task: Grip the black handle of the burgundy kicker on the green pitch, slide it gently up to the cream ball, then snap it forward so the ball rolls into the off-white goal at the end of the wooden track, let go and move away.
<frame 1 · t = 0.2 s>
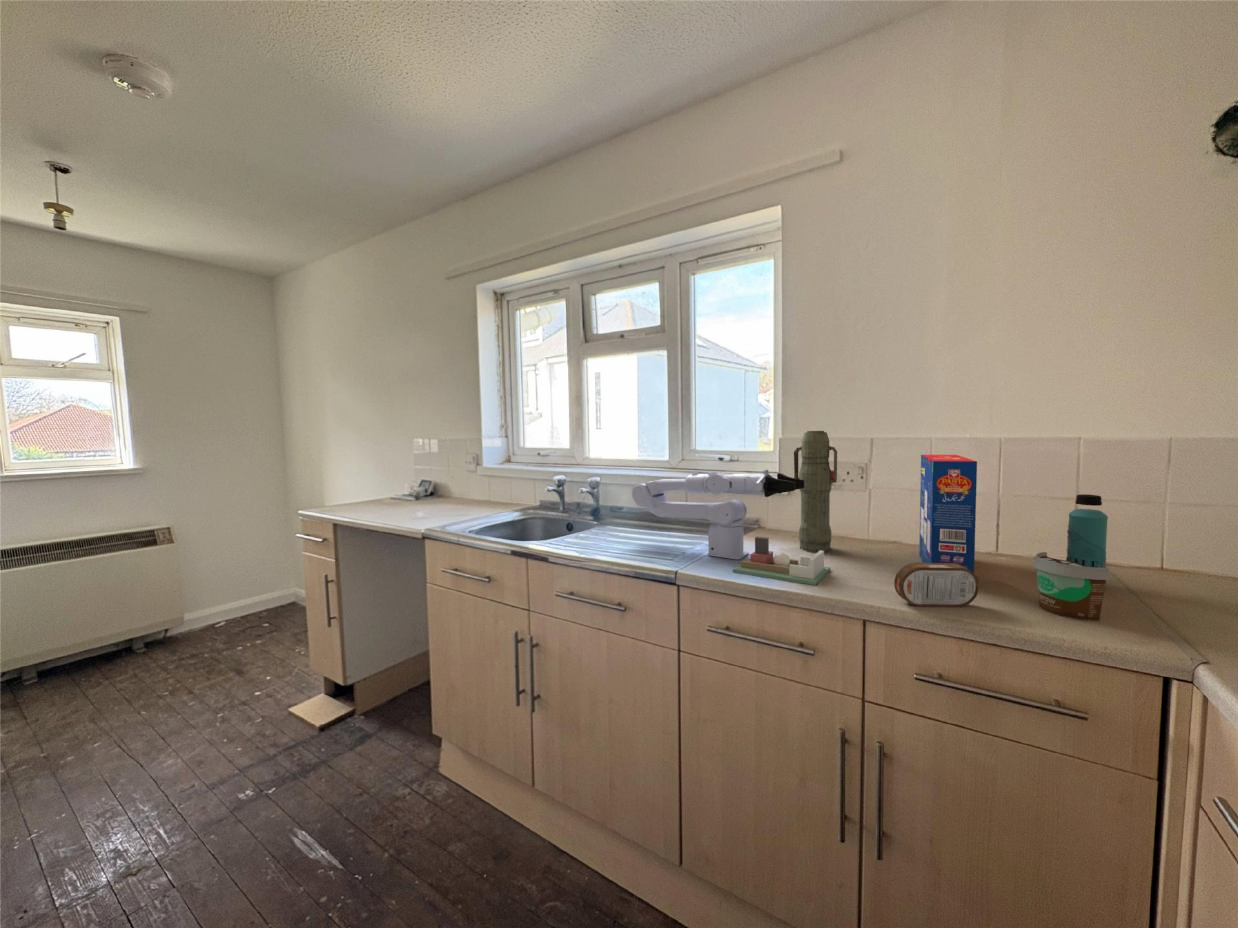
hand: (799, 485, 125), 21 cm above the countertop, tool horizontal, fingers open, 7 cm apart
kicker: (761, 551, 124), point 5 cm above the countertop, slide at 0.0 cm
goal: (806, 574, 118), resting on pitch
beverage bottle: (1084, 584, 107), on the countertop
food container: (1058, 612, 91), on the countertop
ball: (781, 560, 121), point 3 cm above the countertop, touching pitch
thermos: (814, 549, 143), on the countertop
tin: (936, 606, 96), on the countertop
pitch: (781, 571, 121), on the countertop
pasta box: (943, 569, 120), on the countertop
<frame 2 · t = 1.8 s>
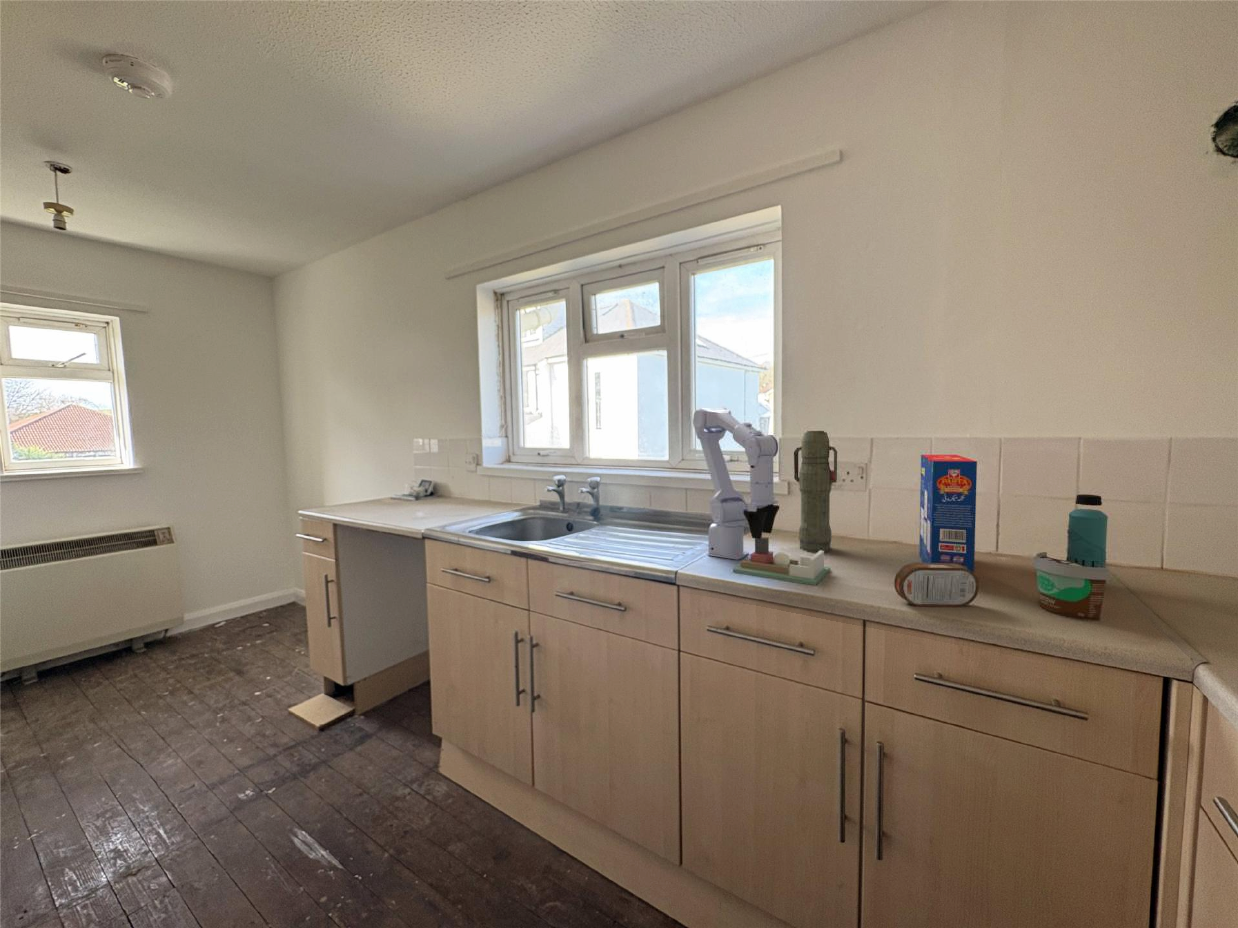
hand: (761, 535, 124), 9 cm above the countertop, tool pointing down, fingers open, 7 cm apart
nothing on the countertop moved.
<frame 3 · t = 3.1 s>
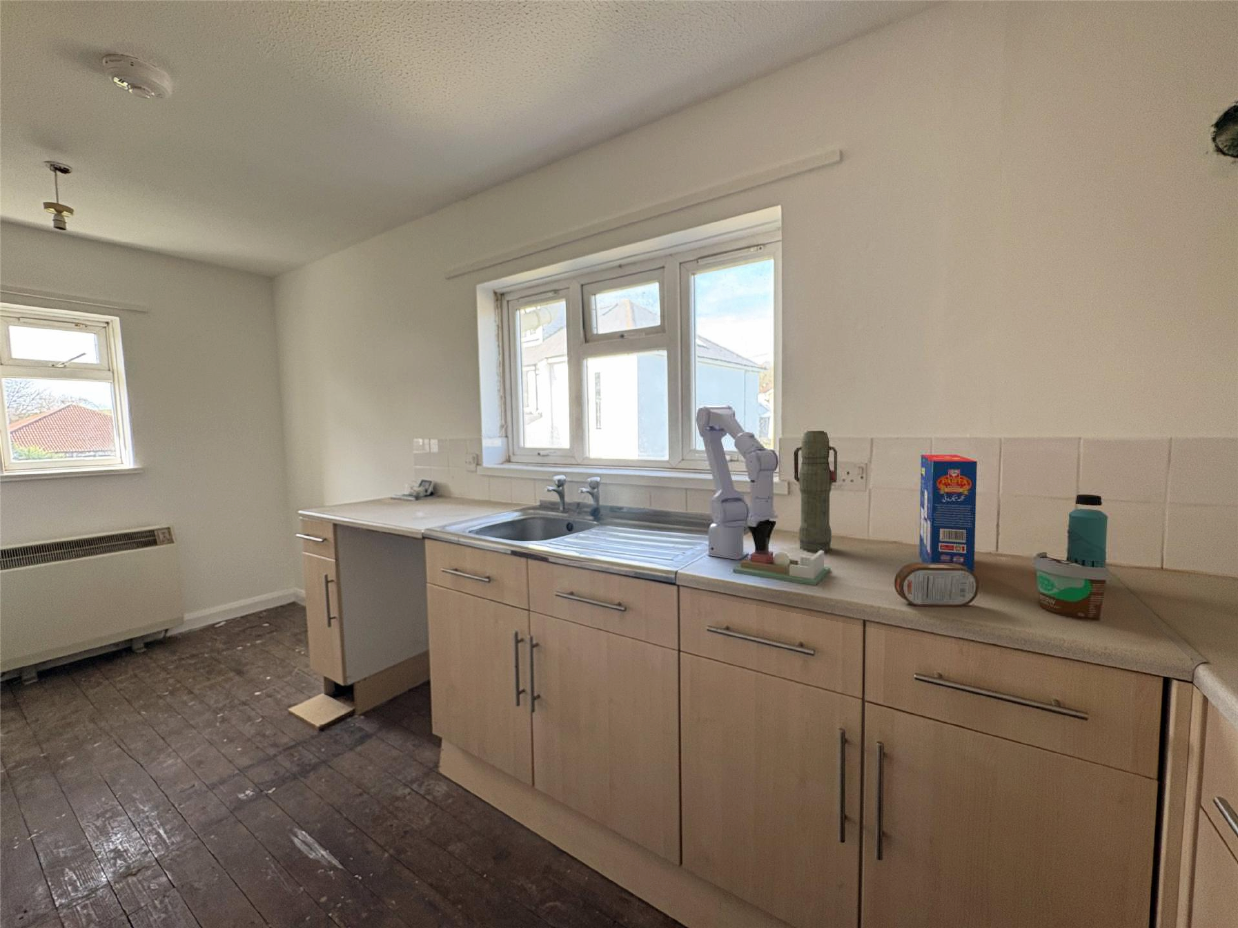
hand: (761, 549, 124), 5 cm above the countertop, tool pointing down, fingers closed on kicker, 2 cm apart
kicker: (761, 551, 124), point 4 cm above the countertop, slide at 0.0 cm, touching gripper
everything else where it was.
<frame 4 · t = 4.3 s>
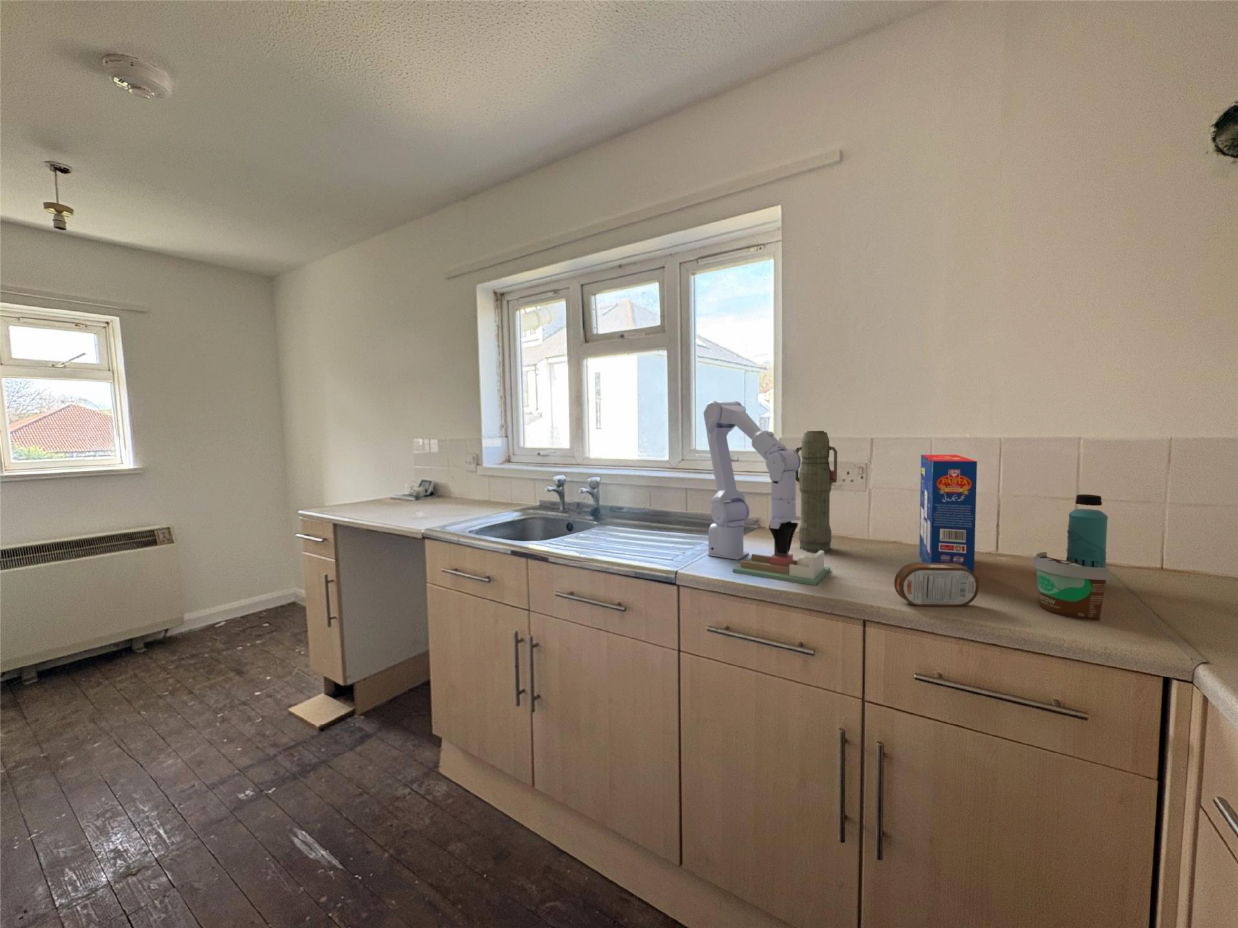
hand: (783, 552, 121), 5 cm above the countertop, tool pointing down, fingers closed on kicker, 2 cm apart
kicker: (781, 553, 121), point 4 cm above the countertop, slide at 5.0 cm, touching gripper
ball: (805, 563, 118), point 3 cm above the countertop, tilted 168°, touching pitch
everything else where it was.
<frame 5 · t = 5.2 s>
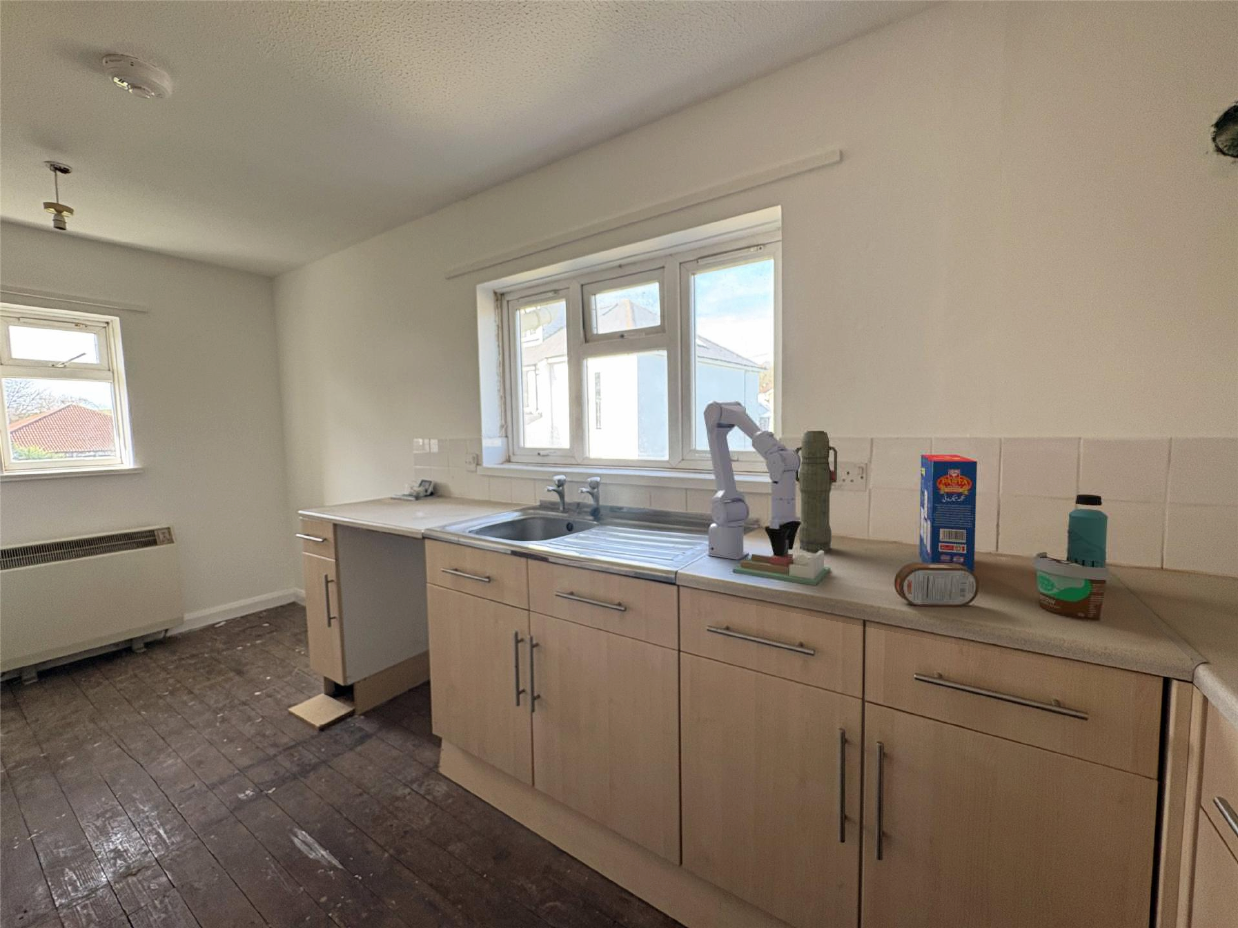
hand: (783, 552, 121), 5 cm above the countertop, tool pointing down, fingers open, 7 cm apart
kicker: (781, 553, 121), point 4 cm above the countertop, slide at 5.0 cm
ball: (801, 563, 118), point 3 cm above the countertop, tilted 137°, touching pitch
everything else where it was.
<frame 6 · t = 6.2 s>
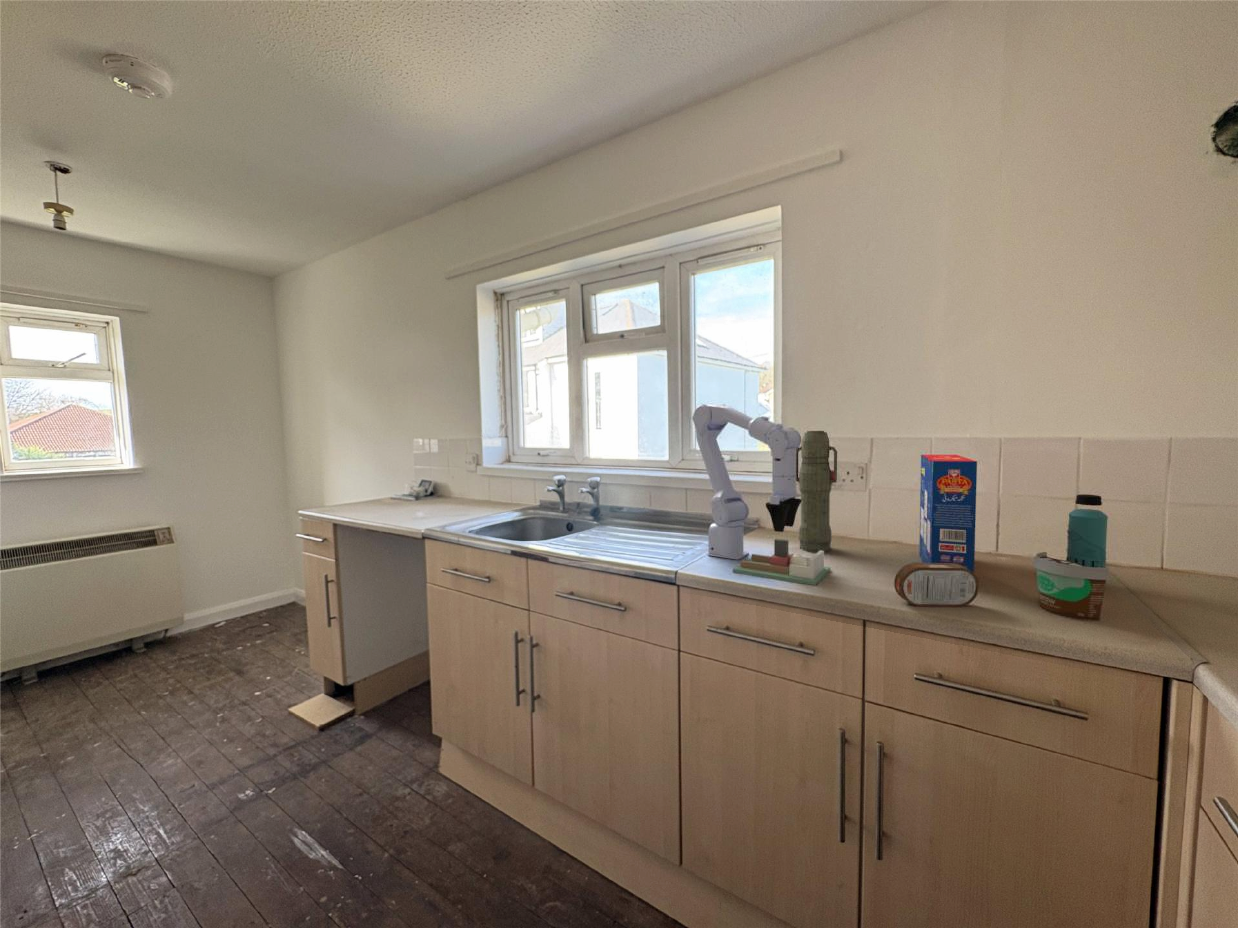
hand: (783, 528, 123), 10 cm above the countertop, tool pointing down, fingers open, 7 cm apart
ball: (798, 562, 119), point 3 cm above the countertop, tilted 114°, touching pitch
everything else where it was.
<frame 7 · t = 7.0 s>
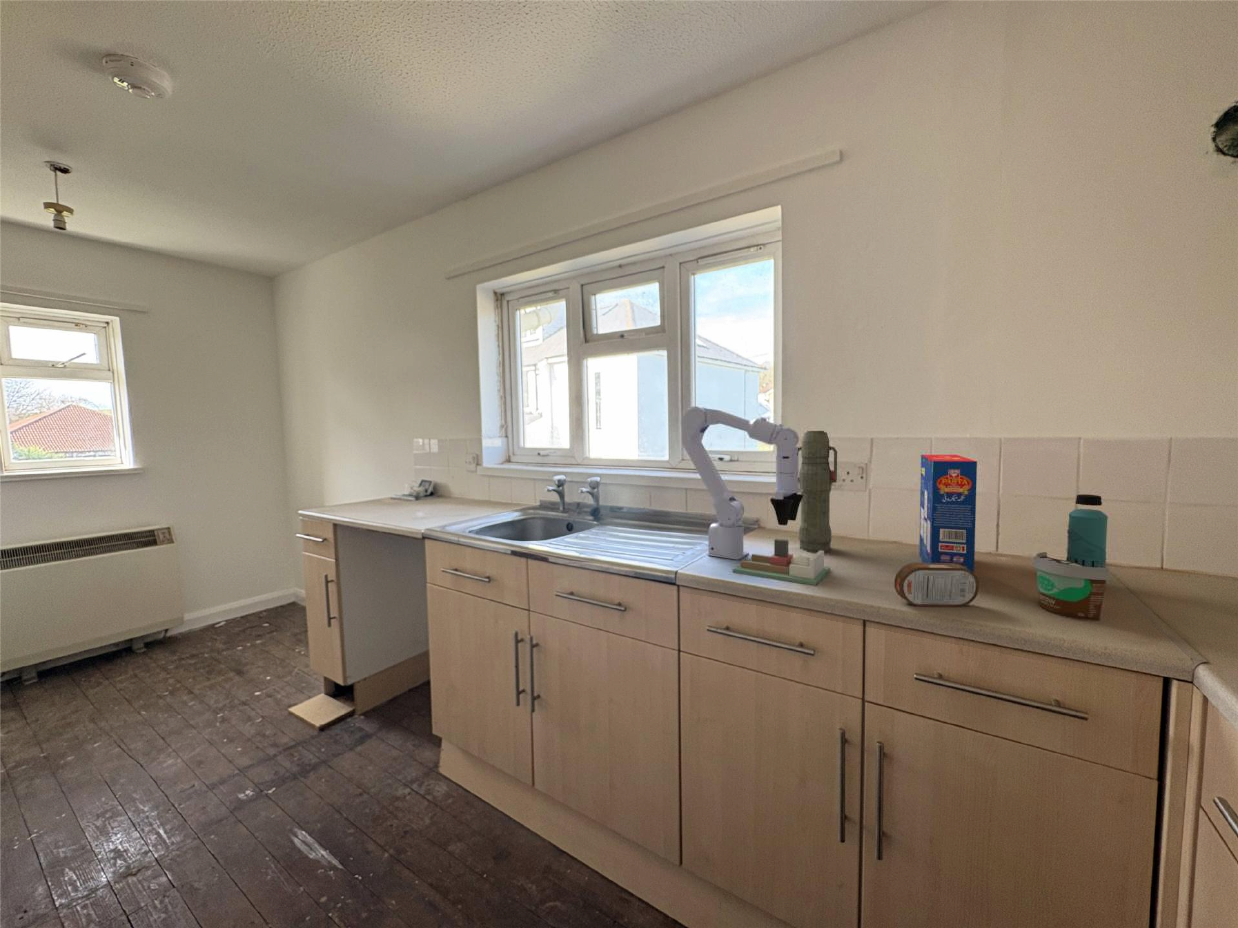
hand: (787, 522, 131), 10 cm above the countertop, tool pointing down, fingers open, 7 cm apart
ball: (799, 562, 119), point 3 cm above the countertop, tilted 121°, touching pitch
everything else where it was.
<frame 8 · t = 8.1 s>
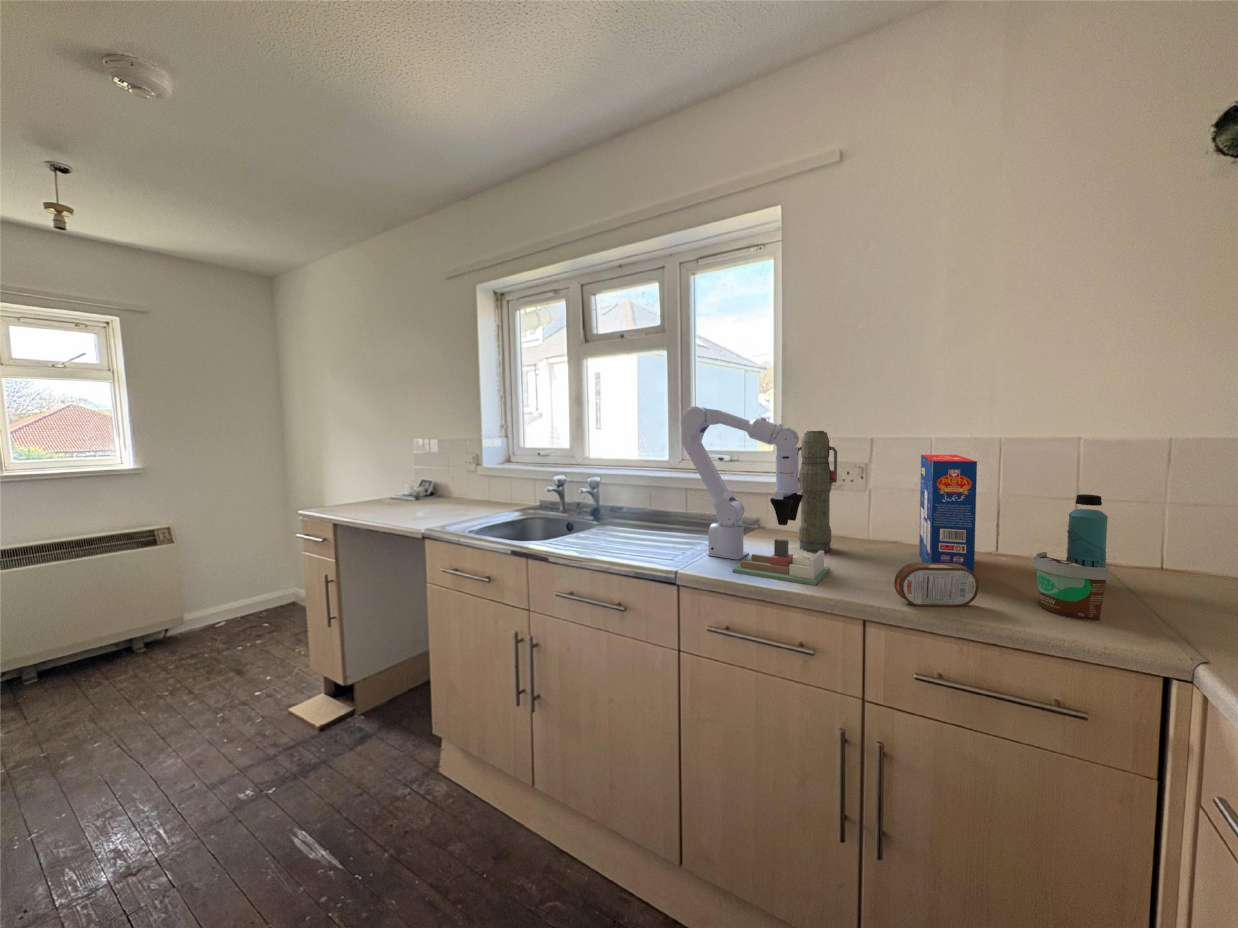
hand: (787, 522, 131), 10 cm above the countertop, tool pointing down, fingers open, 7 cm apart
ball: (800, 562, 118), point 3 cm above the countertop, tilted 132°, touching pitch
everything else where it was.
at the end: ball 0.8 cm off-centre on the goal, point 2.8 cm above the goal's base; kicker slide at 5.0 cm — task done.
